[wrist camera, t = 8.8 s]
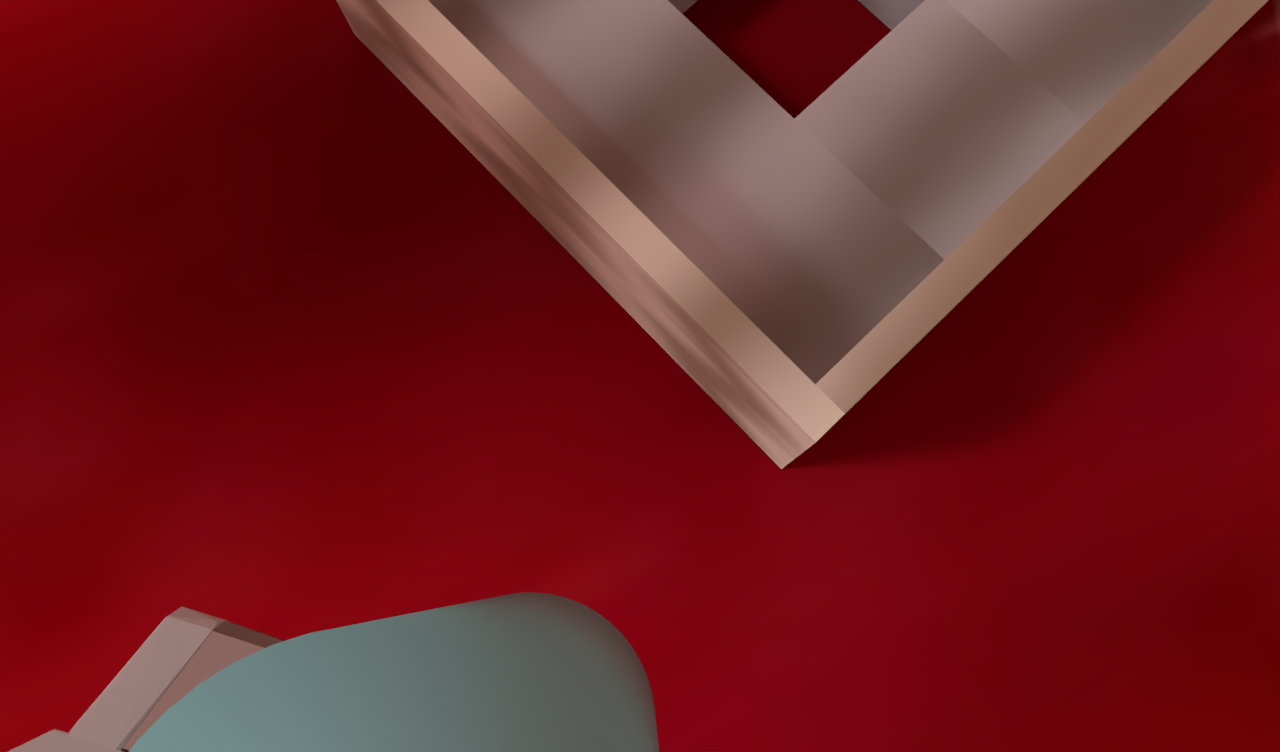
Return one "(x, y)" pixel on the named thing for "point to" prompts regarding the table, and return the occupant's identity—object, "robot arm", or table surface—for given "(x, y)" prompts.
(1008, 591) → the table surface
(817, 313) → the bore box
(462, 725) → the peg
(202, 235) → the table surface
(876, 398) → the table surface
